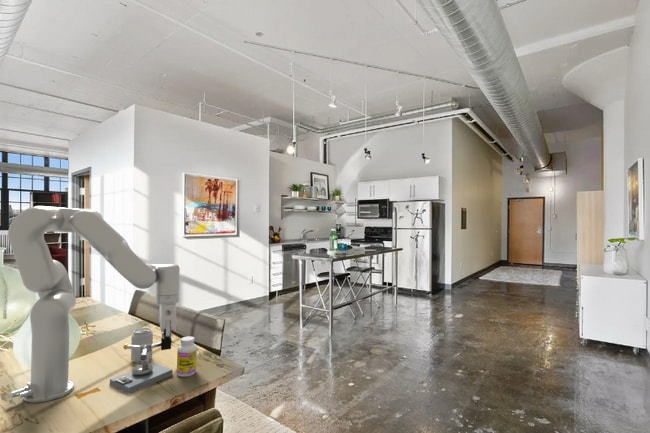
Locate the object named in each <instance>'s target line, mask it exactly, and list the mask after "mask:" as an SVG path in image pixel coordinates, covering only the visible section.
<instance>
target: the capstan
mask: <svg viewBox="0 0 650 433" xmlns="http://www.w3.org/2000/svg"><path fill="white" fill-rule="evenodd" d="M172 342H173V341H172V339H171V344H172ZM158 347H161V341H159V342H156V343H153V344H143V345H141V346H140V345H131V344H129V343H125V344H124V345H123V346H122V348H123V349H124V350H131V349H135V350H140V352H141V353H142V355H141V356H140V360H142V363H141V364H139V365H135V366H134V367H133V368H132V369H131V371H132V375H134V376H144V375H147V374H150V373H151V372H152V371H153V366H152V365H150V364H151V363H149V362H150V360H149V352H150V351H151V349H152V350H153V349H155V348H158Z"/></svg>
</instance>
